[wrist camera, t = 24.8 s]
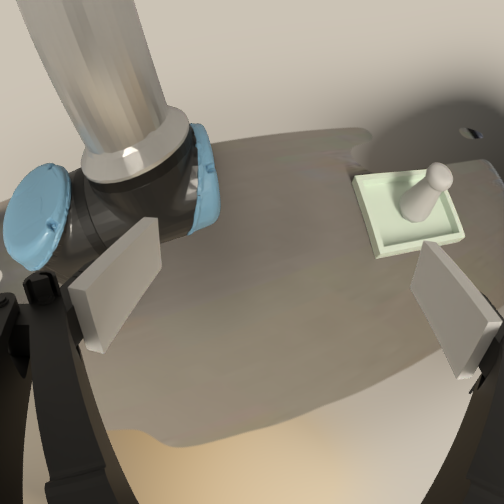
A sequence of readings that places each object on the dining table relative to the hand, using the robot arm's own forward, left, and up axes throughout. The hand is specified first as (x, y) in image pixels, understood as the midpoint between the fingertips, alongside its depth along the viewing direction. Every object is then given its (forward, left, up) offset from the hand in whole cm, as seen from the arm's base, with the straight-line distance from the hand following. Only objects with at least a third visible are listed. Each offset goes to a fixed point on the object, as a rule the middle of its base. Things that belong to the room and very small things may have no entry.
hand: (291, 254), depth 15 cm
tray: (+11, +28, -32) cm, 44 cm away
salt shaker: (+12, +28, -31) cm, 44 cm away
